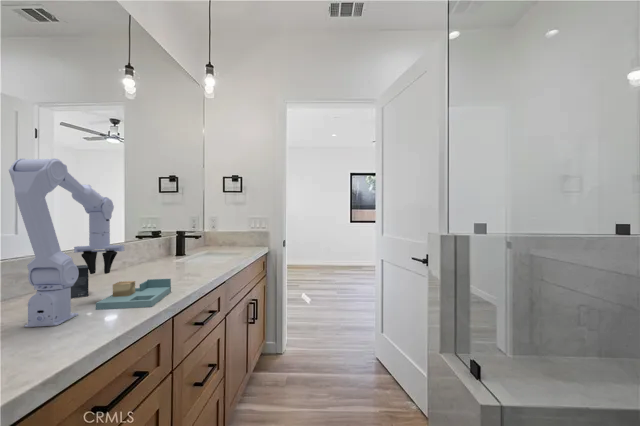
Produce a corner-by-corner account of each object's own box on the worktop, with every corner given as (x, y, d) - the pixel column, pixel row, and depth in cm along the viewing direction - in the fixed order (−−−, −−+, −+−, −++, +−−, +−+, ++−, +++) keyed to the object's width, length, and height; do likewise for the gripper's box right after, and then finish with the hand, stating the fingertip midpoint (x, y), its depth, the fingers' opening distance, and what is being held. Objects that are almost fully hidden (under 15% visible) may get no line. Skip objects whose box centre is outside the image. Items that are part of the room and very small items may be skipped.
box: (88, 296, 116) (88, 266, 116) (68, 299, 113) (68, 268, 113) (87, 292, 122) (86, 264, 122) (68, 294, 119) (67, 265, 119)
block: (129, 296, 108) (129, 283, 108) (112, 296, 107) (112, 284, 107) (135, 292, 113) (135, 280, 113) (119, 293, 112) (119, 281, 112)
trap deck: (151, 306, 102) (151, 290, 102) (95, 309, 99) (95, 293, 99) (170, 291, 121) (170, 278, 121) (124, 293, 119) (124, 280, 119)
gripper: (128, 231, 114) (128, 270, 114) (82, 232, 112) (83, 272, 111) (118, 232, 107) (119, 274, 107) (70, 233, 105) (70, 276, 105)
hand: (99, 273), depth 109 cm, fingers open, 4 cm apart
